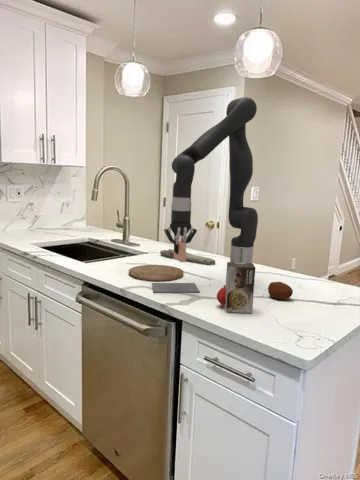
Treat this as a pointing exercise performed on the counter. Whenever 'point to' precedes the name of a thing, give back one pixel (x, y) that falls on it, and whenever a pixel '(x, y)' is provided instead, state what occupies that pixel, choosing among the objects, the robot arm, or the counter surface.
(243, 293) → the coffee box
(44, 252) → the counter surface
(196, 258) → the elongated rock
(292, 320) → the counter surface
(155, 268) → the trivet
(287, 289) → the potato
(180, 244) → the tile
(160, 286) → the mat
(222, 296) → the pomegranate
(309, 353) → the counter surface
